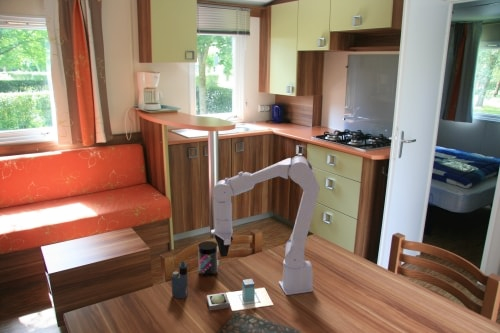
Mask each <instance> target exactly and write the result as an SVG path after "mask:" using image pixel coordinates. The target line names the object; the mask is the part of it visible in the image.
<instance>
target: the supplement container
mask: <svg viewBox="0 0 500 333" xmlns="http://www.w3.org/2000/svg"><path fill="white" fill-rule="evenodd" d="M197 251H198V252H197V253H198V272H199V274H200V275H202V276H204V277H212V276H215V275H216V274H217V273H218V270H219V269H218V243H217V242H216V241H210V240H209V241H207V240H206V241H202V242H200V243H198V245H197Z"/></svg>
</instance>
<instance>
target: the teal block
mask: <svg viewBox="0 0 500 333" xmlns="http://www.w3.org/2000/svg"><path fill="white" fill-rule="evenodd" d="M241 286H242V288H241V291H242V297H243V300H244V302H250V301H255V289H256V288H255V282H254V280H253V278H248V279H247V278H246V279H242V283H241Z"/></svg>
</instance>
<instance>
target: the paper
mask: <svg viewBox="0 0 500 333" xmlns="http://www.w3.org/2000/svg"><path fill="white" fill-rule="evenodd" d="M225 293H226V295H227V298H228V301H229V307H230V309H231V311H232V312H236V311H242V310H243V311H244V310H249V309H257V308H263V307H270V306H274V302H273V301H272V299H271V298H270V296H269V294H268V292H267V290H266V287H258V288H255V301H250V302H244V300H243V297H242V290H238V291H229V292H225Z"/></svg>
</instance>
